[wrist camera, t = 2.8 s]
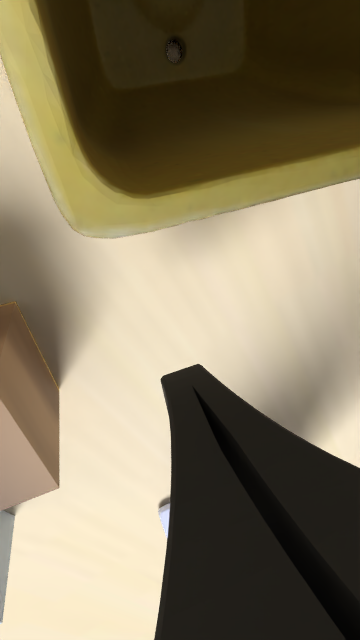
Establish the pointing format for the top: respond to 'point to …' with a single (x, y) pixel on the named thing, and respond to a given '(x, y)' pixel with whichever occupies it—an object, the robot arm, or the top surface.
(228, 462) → the robot arm
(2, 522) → the slate-grey cube
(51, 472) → the walnut cube
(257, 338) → the top surface
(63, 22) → the flower pot
